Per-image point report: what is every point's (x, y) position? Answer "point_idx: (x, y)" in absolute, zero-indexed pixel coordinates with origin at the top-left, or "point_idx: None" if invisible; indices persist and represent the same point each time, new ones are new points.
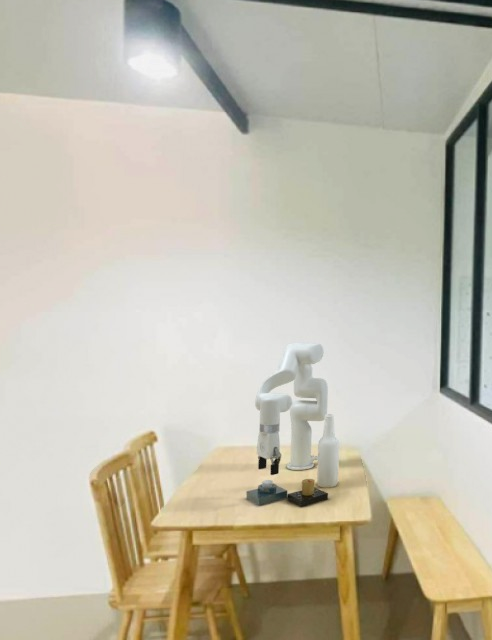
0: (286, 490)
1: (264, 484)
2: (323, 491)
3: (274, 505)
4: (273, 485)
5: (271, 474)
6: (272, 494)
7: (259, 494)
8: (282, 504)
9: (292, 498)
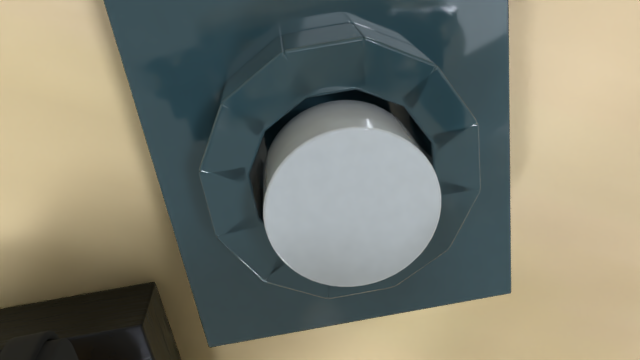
0: (221, 343)
1: (295, 142)
2: None
3: (56, 124)
4: None
5: (13, 349)
6: (155, 171)
7: (249, 16)
8: (52, 206)
9: (40, 328)
